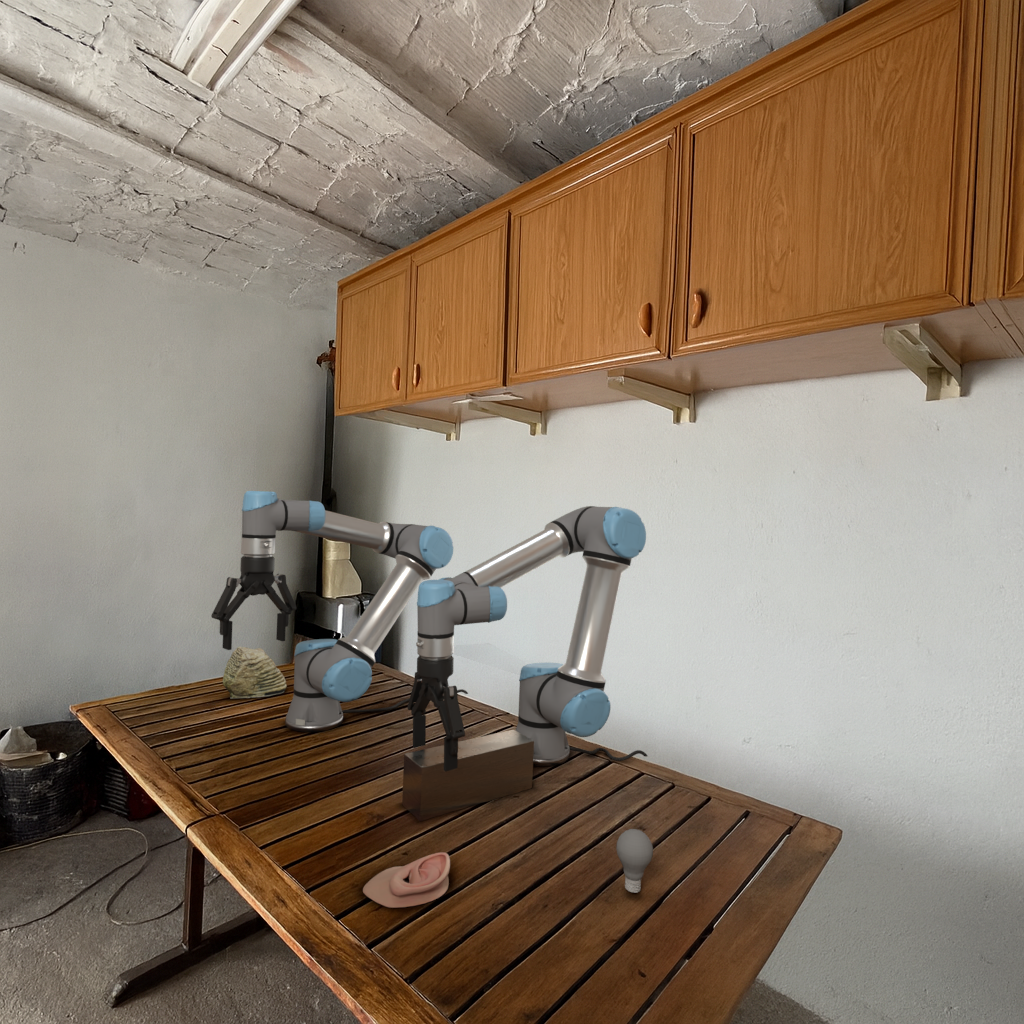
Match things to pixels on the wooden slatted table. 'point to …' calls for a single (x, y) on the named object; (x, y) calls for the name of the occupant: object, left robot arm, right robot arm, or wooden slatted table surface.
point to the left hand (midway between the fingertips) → (254, 644)
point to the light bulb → (634, 857)
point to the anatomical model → (411, 882)
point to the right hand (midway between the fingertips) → (434, 757)
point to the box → (467, 774)
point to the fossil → (252, 674)
